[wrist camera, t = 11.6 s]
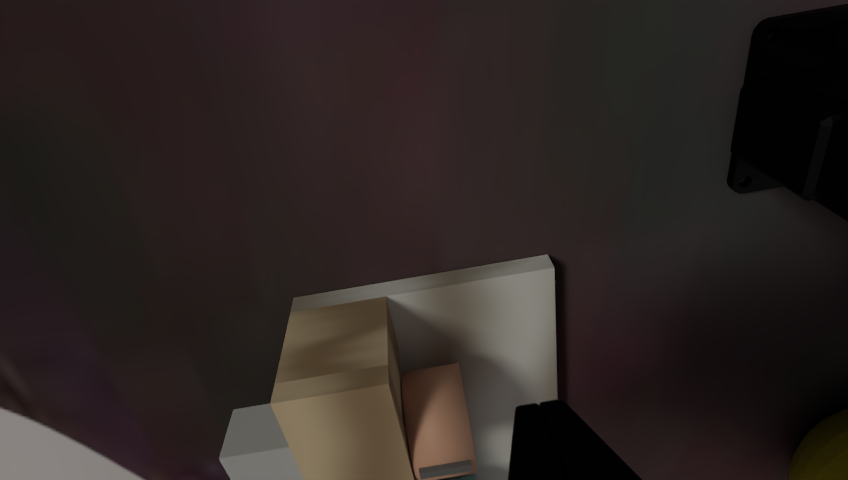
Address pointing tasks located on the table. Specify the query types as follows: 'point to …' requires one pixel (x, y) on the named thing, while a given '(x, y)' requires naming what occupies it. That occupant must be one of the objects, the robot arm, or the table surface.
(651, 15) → the table surface
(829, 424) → the lemon
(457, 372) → the terracotta knob
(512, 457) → the robot arm
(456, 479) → the teal knob
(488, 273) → the mount
